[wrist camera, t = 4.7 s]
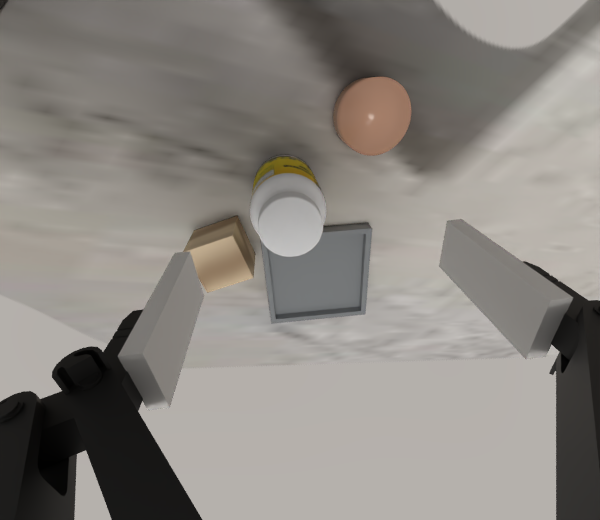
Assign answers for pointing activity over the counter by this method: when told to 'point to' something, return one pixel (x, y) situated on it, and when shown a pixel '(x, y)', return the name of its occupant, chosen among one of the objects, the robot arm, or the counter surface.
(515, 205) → the counter surface
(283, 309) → the slate tray
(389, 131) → the brown egg
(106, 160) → the counter surface
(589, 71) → the counter surface
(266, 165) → the pill bottle
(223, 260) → the cork block
